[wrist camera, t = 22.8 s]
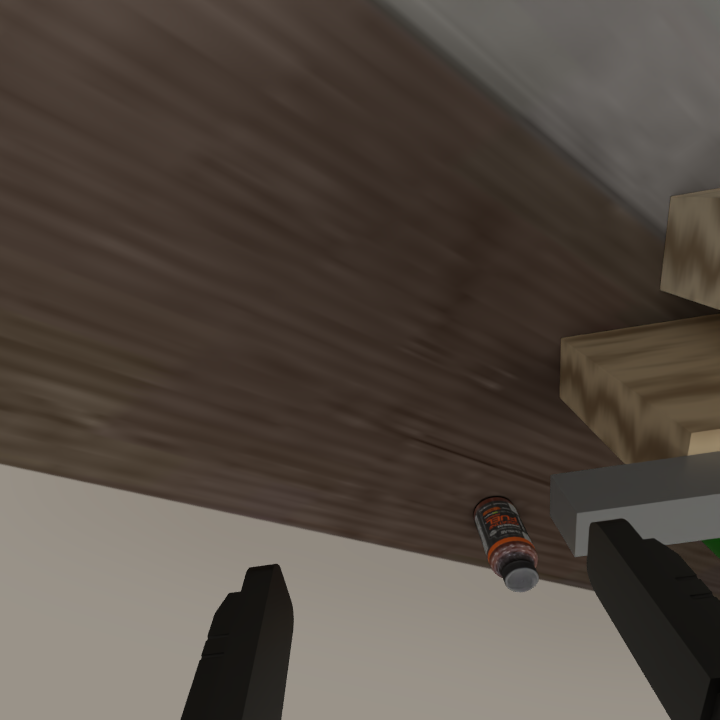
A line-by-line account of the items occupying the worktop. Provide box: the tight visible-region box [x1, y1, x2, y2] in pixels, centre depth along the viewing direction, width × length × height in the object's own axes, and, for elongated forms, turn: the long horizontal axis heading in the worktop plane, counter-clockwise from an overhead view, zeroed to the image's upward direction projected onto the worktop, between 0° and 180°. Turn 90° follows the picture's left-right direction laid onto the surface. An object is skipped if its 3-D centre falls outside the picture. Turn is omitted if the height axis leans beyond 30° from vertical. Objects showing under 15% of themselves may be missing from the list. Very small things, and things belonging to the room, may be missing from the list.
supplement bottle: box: [474, 497, 539, 592], centre depth 54 cm, size 6×6×11 cm
